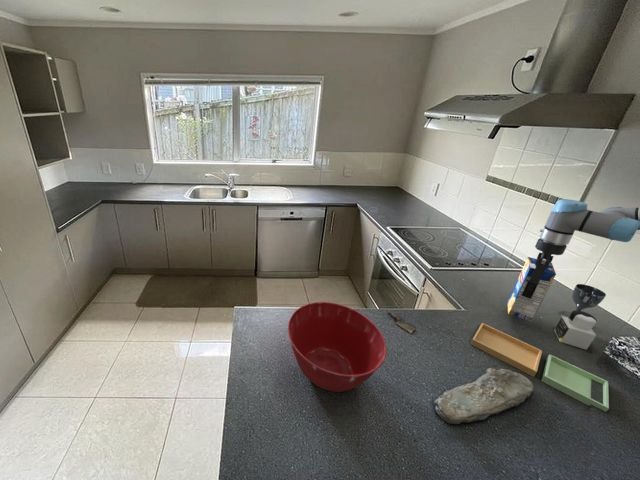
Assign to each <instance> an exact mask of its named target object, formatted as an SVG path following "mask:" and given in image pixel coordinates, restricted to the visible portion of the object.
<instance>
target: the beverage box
mask: <svg viewBox="0 0 640 480" xmlns="http://www.w3.org/2000/svg"><path fill="white" fill-rule="evenodd" d="M536 261H537V258H534V257H530V256H527V258H526V260H525V263H524V264H523V266H522V269H521V272H520V274H519V276H518V278H517V280H516V282H515V284H514V287H513V289H512V291H511V293H510V295H509V297H508V299H507V314H508V316H511V317H513V318H517V319H520V320H523V321H526V322H529V323H532V322H533V320H534V318H535V316H536V314H537V312H538V310H539V308H540V306H541V304H542V302H543V300H544V299H545V296H546V294H547V293H548V291H549V289H550V288H551V285H552V283H553V281H554V279H555V277H556V275H557V273H556V270H555V267H554V265H553V262H551V263H550V264H549V266H548V268H547V269H545V271H544V273H543V275H542V277H541V279H540V281H539V284H538V285H537V287H536V289H535V291H534V293H533V295H532V297H531V299H529V298H527V297H524V296H521V295H522V293H523V291H524V289H525V287H526V285H527V283H528V282H527V281H526V280H530V278H531V276H532V274H533V272H534V270H535V267H536V266H535V263H536ZM534 281H535V280H534Z"/></svg>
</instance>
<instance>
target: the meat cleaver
mask: <svg viewBox="0 0 640 480" xmlns="http://www.w3.org/2000/svg"><path fill="white" fill-rule="evenodd" d="M386 314H388V315H389V316H391V317H392V318H394V319H395V320H396V322H395V324H396V325H398V326H399V327H401V328H403V330H405V331H407V332H409V334H412V333H414V331H415V327H414V326H411V325H408V324H407V323H405V322H404V321H402V320H401V318H400V317H399V316H398V315H396V314H395V313H394V312H392V311H390V310H388V311H387V313H386Z"/></svg>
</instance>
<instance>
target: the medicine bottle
mask: <svg viewBox="0 0 640 480" xmlns="http://www.w3.org/2000/svg"><path fill="white" fill-rule="evenodd" d="M569 315H570V316H569V318H567V317H560V319H559V321H558V322H557V324H556V325H555V327H554V329H553V332H554V333H555V334H556V336H557V339H558V340H559V342H560V343H563V344H566V345H569V346H572V347H575V348H579V349H582V350H588V348H589V347H590V346H591V345H592V343H593V342H594V340H595V338H596V337H597V334H596V333H595V332H594V330H593V328H594V327H595V325H596V324H597V322H598V320H597V319H596V317H594V316H593V315H592V314H590V313H588V312H586V311H583V310H581V311H577V310H576V309H575V310H572V312H571V313H570V314H569Z"/></svg>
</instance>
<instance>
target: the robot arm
mask: <svg viewBox="0 0 640 480" xmlns="http://www.w3.org/2000/svg"><path fill="white" fill-rule="evenodd" d="M639 230H640V207H624V206H611V207H608V208H605V209H602V210H601V211H600V212H599V211H595V210H590V209H588V204H587V203H586V202H584V201H579V200H574V199H569V198H562V199H558V200H557V201H556V202H555V204H554V205H553V208H552V209H551V210H550V213H549V215H548V217H547V219H546V222H545V223H544V227H543V229H539V232H540V235H539V238H538V239H537V241H536V244H535V245H534V247H535V249H536V250H538V251H539V252H538V255H537V256H536V259H537V261H536V263H535V266H536V267H535V270H534V272H533V274H532V276H531V278H530V280H526V281H527V282H528V283H527V285H526V287H525V289H524V291H523V293H522V295H521V296H524V297H527V298H529V299H531V297H532V295H533V293H534V291H535V289H536V287H537V285H538V284H539V281H540V279H541V277H542V275H543V273H544V271H545V269H547V268H548V266H549V264H550V263H553V259H554V256H562V255H563V254H564V253H565V251H566V249H567V247H568V246H567V245H569V244H570V242H571V240H572V238H573V236H574V234H575V232H580V233H584V234H588V235H591V236H592V235H593V236H596V237H600V238H604V239H607V240H610V241H616V242H622V243H629V242H631V241H632V240H633V238H634V236H635V234H636V232H637V231H639ZM534 280H535V281H534Z"/></svg>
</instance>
